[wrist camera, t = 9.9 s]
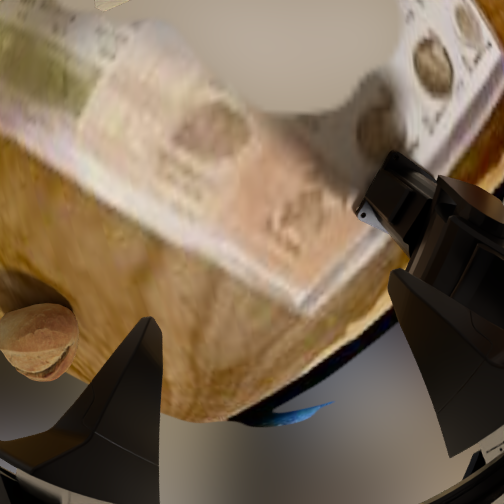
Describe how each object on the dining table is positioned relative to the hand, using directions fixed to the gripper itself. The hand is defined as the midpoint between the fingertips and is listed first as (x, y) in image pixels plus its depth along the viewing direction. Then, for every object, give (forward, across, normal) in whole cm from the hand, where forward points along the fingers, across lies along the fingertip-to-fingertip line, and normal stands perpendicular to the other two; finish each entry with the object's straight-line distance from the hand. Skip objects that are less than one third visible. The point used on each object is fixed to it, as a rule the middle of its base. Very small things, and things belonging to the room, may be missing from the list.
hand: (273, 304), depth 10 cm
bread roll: (+12, +28, +10) cm, 32 cm away
